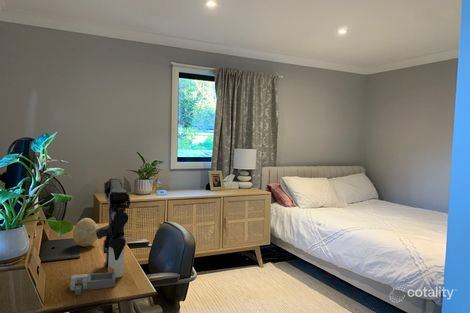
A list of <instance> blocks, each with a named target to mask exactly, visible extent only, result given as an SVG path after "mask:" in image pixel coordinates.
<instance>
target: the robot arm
mask: <svg viewBox="0 0 470 313" xmlns="http://www.w3.org/2000/svg"><path fill="white" fill-rule="evenodd" d="M102 192H103V194H104V199H105V200H106V202H107V203H108V204H107V206H108V207H107V210H108V211H107V212H108V225H105V226H101V227H98V229H97V230H96V235H97V240H100V239H102V238H104V240H103V244H102V253H103V254H106V255H105V262H104V267H105V268H108V261H109V247H111V248H113V250H114V256H115V260H118V259H119V257H120V255H121V253H122V250H123V249H124V250H125V247H126V245H127V243H126V242H127V241H126V240H127V239H126V237H124V236H125V235H126V234H125V227H126V224H127V223H128V221H129V216H128V213H127V212H126V209H130V206H131V199H130V198H131V197H130V195H129V192H127V190H126V189H124V188H123V183H122V182H121V178H118V177H114V178H113V177H112V178H108V181H106V182H104V183H103V189H102Z"/></svg>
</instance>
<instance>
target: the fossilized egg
mask: <svg viewBox="0 0 470 313" xmlns="http://www.w3.org/2000/svg"><path fill="white" fill-rule="evenodd" d="M97 229H99V226H98V224H97V223H96V222H95V220H93V219H92V218H89V217H84V218H82V219H80V220H79V221H78V222H77V223H76V224H75V226H74V228H73V230H72V238H73V241H74V242H75V244H77V245H78V246H80V247H84V248H86V247H90V246H92V245H93V244H95V242H96V241H97V240H98V238H97V235H96V230H97Z"/></svg>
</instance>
